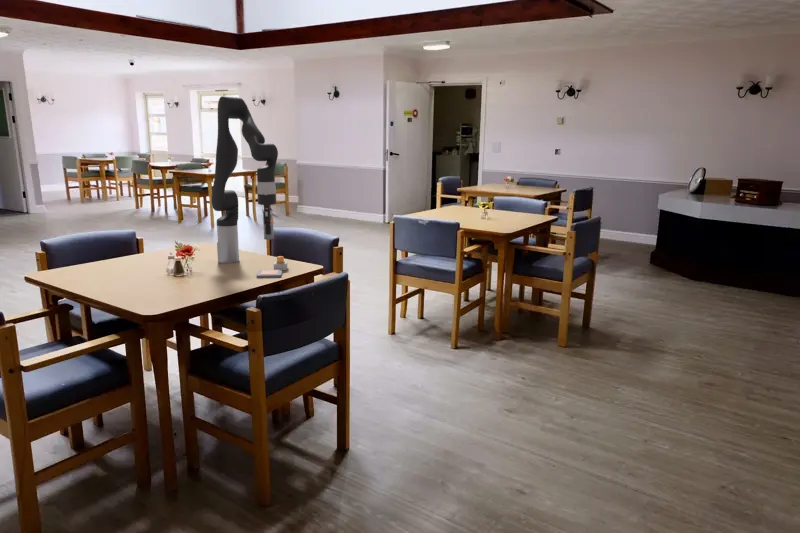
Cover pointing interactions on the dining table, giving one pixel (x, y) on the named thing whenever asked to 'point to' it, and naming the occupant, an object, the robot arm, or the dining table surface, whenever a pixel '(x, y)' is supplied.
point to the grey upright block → (271, 231)
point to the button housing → (280, 266)
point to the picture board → (269, 273)
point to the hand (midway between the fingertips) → (268, 233)
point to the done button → (280, 259)
